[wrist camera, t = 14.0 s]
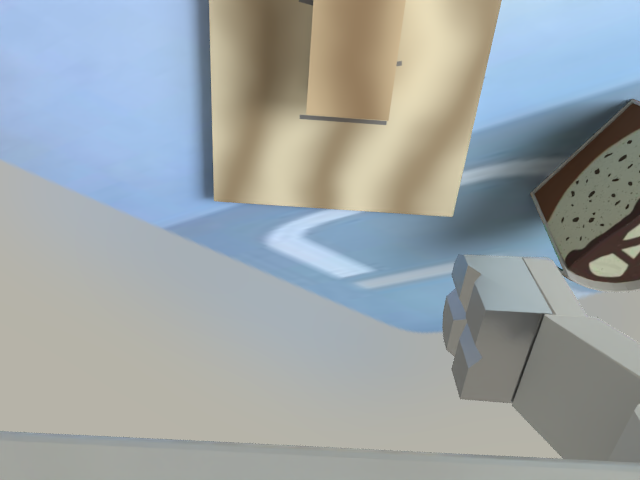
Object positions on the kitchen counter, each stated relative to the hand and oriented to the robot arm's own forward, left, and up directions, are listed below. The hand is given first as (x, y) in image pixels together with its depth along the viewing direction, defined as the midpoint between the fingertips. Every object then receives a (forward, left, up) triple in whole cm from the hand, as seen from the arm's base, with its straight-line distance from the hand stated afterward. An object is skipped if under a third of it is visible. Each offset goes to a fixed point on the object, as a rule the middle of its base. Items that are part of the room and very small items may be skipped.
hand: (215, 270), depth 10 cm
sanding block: (+4, -2, -30) cm, 30 cm away
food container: (+24, -11, -31) cm, 41 cm away
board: (+4, -6, -31) cm, 32 cm away
